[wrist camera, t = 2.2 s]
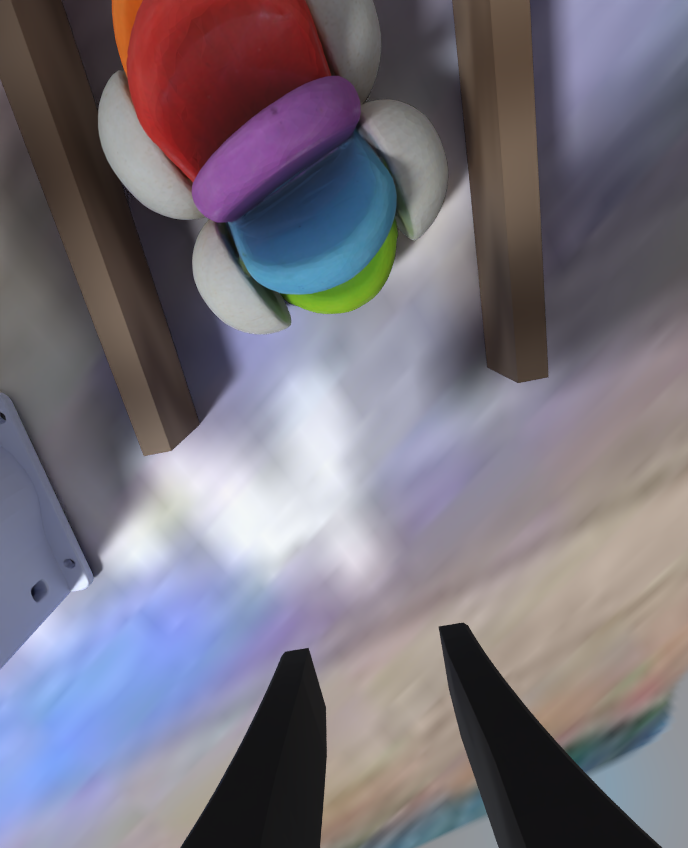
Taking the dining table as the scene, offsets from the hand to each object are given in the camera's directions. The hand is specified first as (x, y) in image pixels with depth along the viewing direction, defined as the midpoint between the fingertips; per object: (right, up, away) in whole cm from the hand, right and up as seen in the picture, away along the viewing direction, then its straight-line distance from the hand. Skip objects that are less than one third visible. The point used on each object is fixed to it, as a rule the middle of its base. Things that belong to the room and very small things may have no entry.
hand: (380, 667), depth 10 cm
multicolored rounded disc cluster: (-3, +15, +4) cm, 16 cm away
